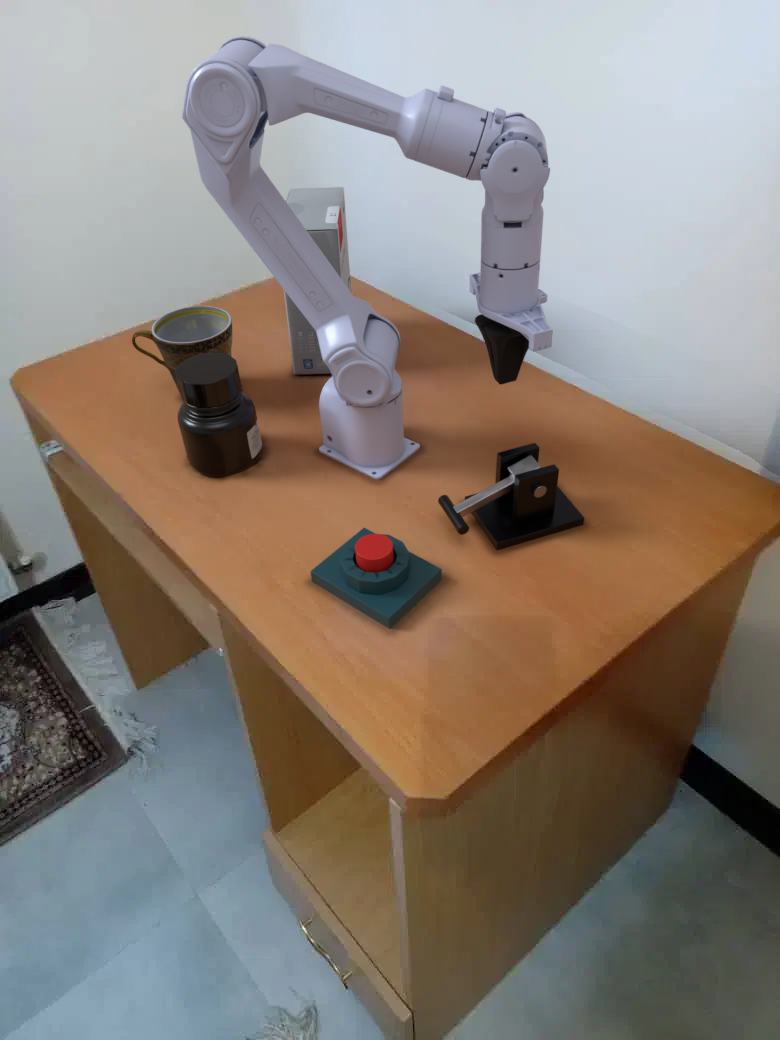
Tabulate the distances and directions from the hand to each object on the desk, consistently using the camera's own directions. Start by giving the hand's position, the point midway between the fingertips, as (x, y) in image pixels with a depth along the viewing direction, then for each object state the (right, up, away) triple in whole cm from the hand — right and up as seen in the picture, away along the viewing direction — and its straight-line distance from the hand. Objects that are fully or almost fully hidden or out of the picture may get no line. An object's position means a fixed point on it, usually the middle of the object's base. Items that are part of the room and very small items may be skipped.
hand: (505, 379), depth 85 cm
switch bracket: (+2, -15, -1) cm, 15 cm away
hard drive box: (-22, +9, +28) cm, 37 cm away
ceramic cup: (-38, +2, +20) cm, 43 cm away
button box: (-14, -21, -7) cm, 26 cm away
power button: (-14, -19, -10) cm, 25 cm away
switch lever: (-2, -13, -4) cm, 14 cm away
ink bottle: (-32, -8, +9) cm, 34 cm away
